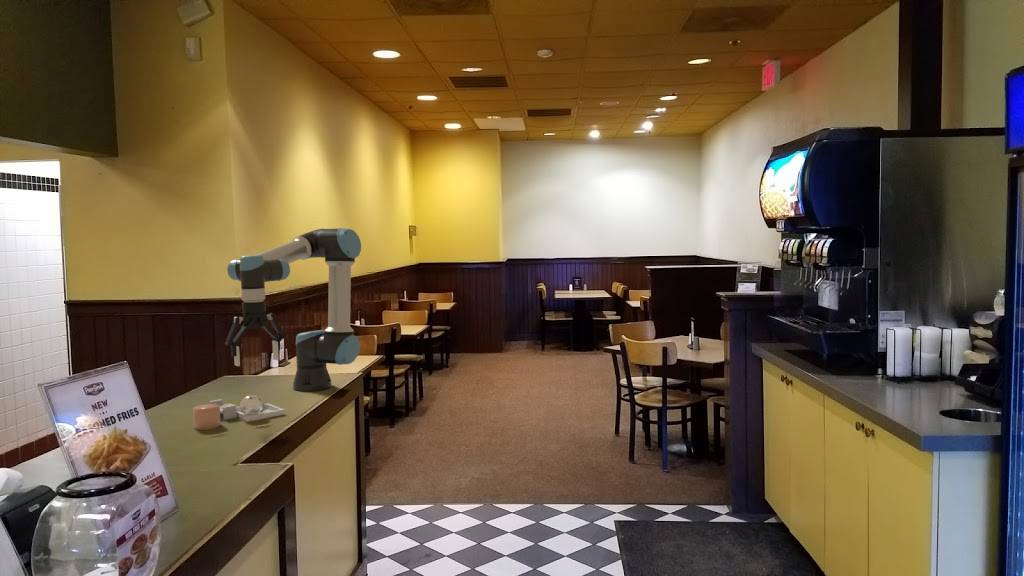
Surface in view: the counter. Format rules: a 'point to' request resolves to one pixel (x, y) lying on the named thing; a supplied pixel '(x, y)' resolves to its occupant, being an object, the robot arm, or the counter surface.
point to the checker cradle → (226, 411)
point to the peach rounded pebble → (206, 417)
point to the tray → (262, 413)
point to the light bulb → (252, 405)
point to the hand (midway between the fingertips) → (257, 362)
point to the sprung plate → (228, 405)
